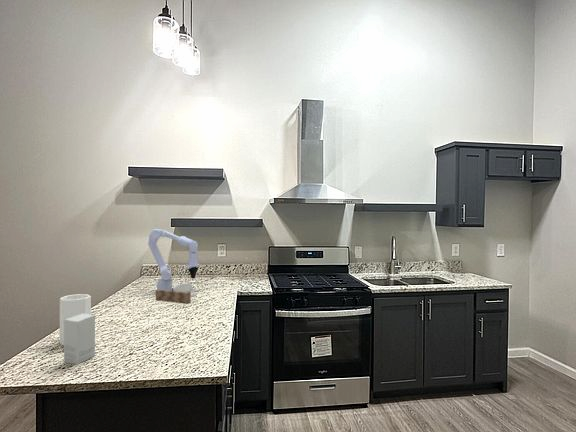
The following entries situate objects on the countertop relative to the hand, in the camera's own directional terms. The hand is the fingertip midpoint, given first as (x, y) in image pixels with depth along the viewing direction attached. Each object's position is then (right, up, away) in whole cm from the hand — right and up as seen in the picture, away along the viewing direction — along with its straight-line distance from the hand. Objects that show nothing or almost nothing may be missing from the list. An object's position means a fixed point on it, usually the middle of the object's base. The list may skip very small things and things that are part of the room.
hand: (193, 278), depth 246 cm
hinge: (-2, -10, -17) cm, 20 cm away
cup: (-23, -10, -97) cm, 100 cm away
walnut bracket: (-4, -9, -23) cm, 25 cm away
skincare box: (-11, -10, -115) cm, 116 cm away
